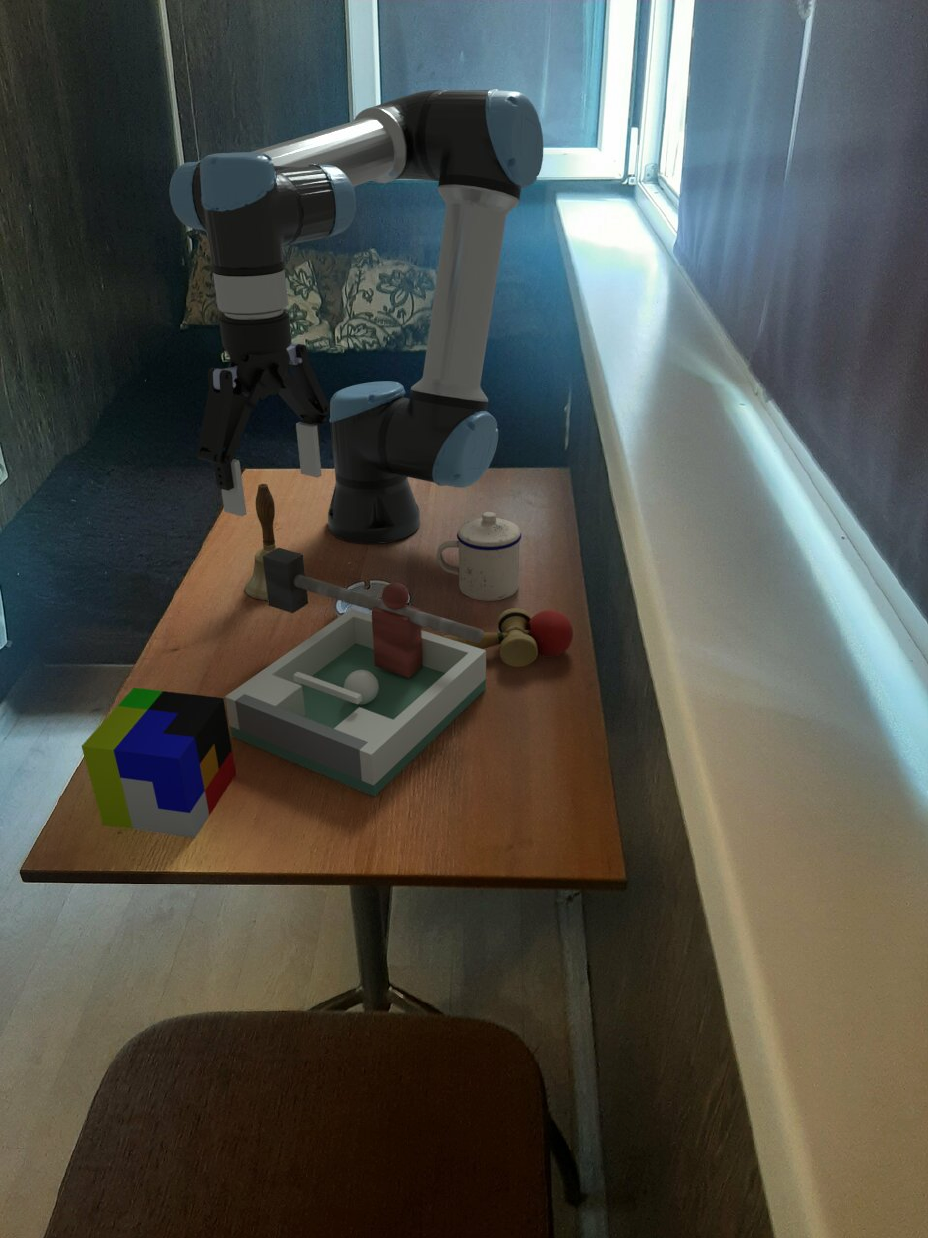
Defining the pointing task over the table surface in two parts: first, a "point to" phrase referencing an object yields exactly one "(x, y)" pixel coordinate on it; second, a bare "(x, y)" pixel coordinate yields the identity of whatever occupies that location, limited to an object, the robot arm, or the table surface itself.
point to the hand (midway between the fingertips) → (275, 493)
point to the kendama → (526, 636)
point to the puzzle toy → (161, 761)
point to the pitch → (354, 703)
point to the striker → (390, 615)
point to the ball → (362, 685)
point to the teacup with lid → (486, 558)
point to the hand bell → (266, 517)
